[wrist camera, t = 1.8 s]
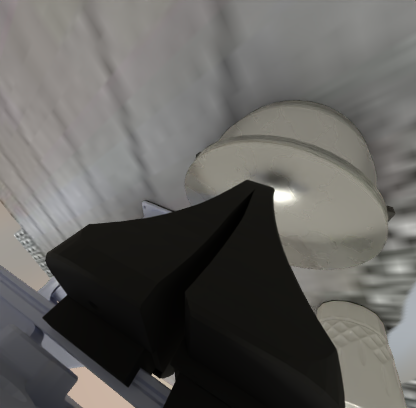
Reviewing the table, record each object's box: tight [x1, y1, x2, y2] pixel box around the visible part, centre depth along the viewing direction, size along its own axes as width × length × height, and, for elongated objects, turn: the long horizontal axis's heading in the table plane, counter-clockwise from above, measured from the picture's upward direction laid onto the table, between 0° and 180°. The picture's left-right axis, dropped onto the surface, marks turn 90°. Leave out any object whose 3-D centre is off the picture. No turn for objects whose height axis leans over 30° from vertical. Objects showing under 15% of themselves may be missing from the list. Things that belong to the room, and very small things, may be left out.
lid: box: [185, 135, 388, 270], centre depth 15 cm, size 14×14×2 cm
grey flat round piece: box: [196, 100, 395, 222], centre depth 19 cm, size 15×16×3 cm
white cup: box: [317, 301, 407, 408], centre depth 21 cm, size 8×8×10 cm
